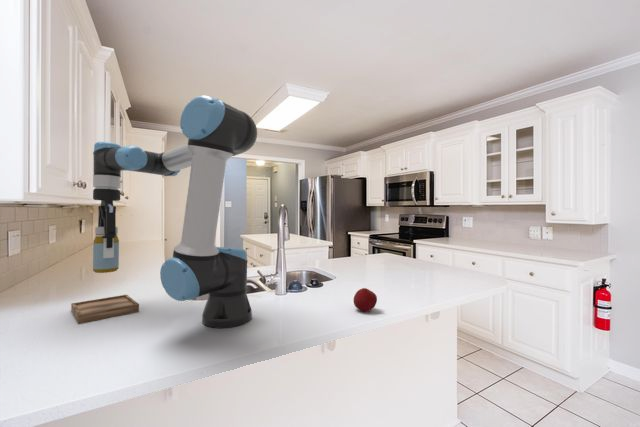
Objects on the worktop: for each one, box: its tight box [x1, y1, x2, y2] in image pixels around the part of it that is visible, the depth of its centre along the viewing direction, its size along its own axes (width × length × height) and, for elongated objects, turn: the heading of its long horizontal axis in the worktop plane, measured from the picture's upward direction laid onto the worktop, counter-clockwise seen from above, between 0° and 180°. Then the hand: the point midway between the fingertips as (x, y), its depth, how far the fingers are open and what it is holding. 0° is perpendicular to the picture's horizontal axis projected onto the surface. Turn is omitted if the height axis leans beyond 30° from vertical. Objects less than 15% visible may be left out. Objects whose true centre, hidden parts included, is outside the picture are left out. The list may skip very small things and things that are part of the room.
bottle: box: [92, 226, 120, 274], centre depth 99 cm, size 7×7×15 cm
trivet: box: [71, 294, 140, 325], centre depth 99 cm, size 16×16×3 cm
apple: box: [353, 287, 378, 313], centre depth 104 cm, size 8×8×8 cm
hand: (106, 256), depth 99 cm, fingers closed on bottle, 7 cm apart
